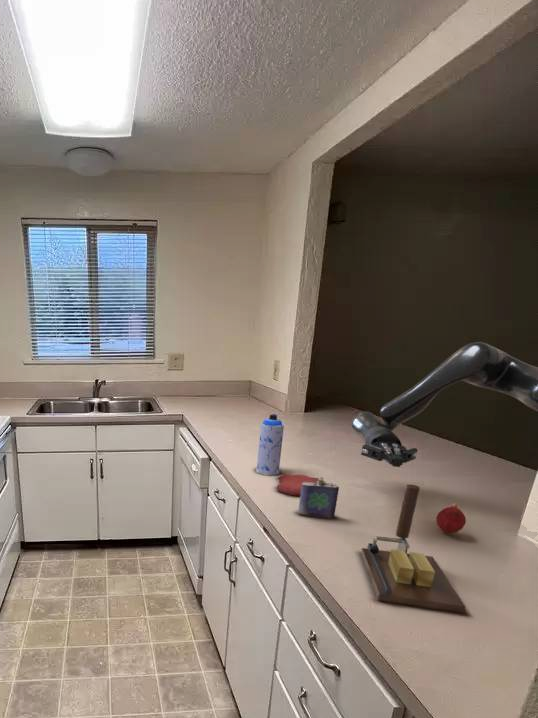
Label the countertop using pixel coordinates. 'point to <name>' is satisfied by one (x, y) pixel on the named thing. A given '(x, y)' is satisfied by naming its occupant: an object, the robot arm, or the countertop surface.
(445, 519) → the onion
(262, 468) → the aerosol can
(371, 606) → the countertop surface
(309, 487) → the flask
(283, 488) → the patty
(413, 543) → the countertop surface
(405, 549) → the wooden handled slicer
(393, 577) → the butter board
